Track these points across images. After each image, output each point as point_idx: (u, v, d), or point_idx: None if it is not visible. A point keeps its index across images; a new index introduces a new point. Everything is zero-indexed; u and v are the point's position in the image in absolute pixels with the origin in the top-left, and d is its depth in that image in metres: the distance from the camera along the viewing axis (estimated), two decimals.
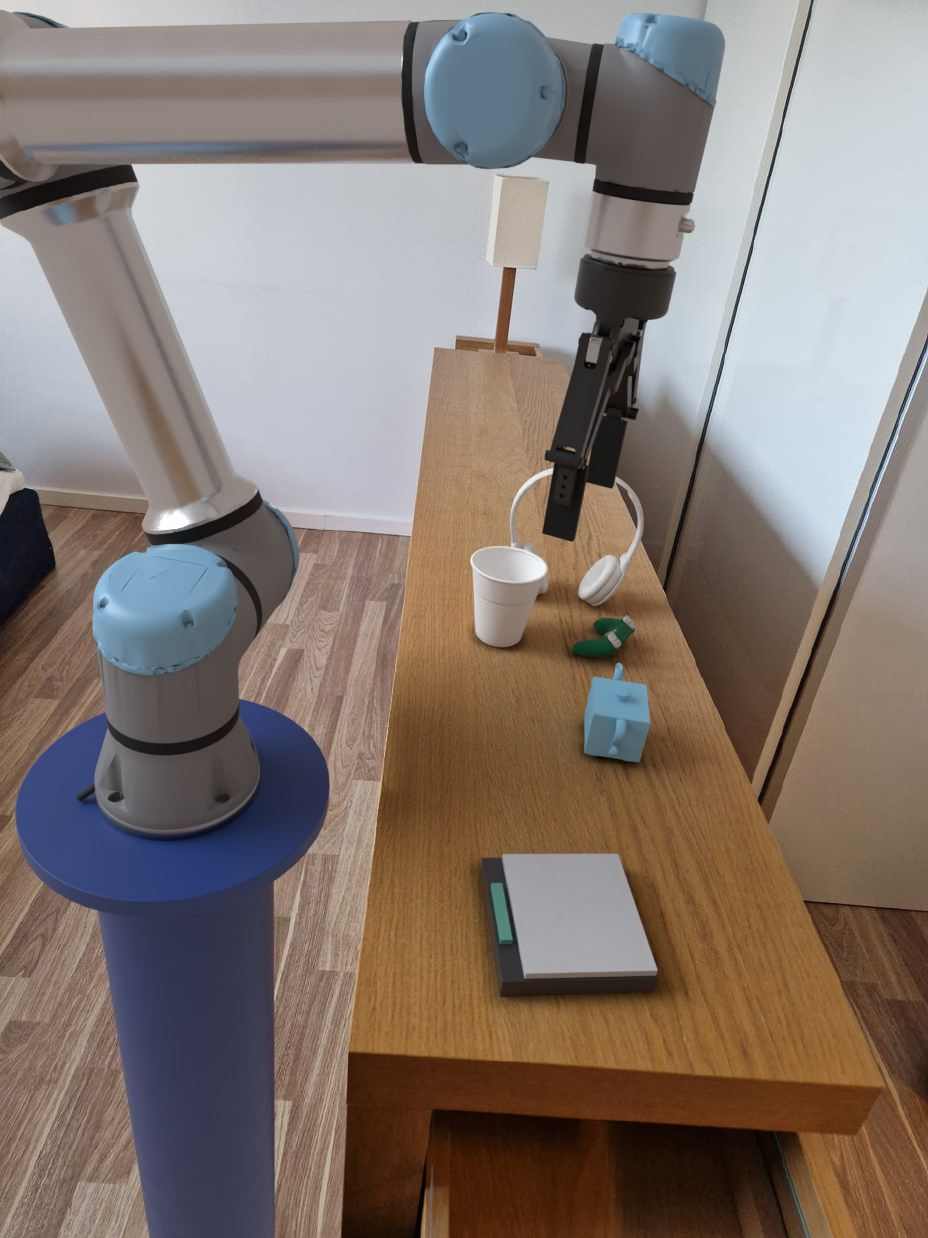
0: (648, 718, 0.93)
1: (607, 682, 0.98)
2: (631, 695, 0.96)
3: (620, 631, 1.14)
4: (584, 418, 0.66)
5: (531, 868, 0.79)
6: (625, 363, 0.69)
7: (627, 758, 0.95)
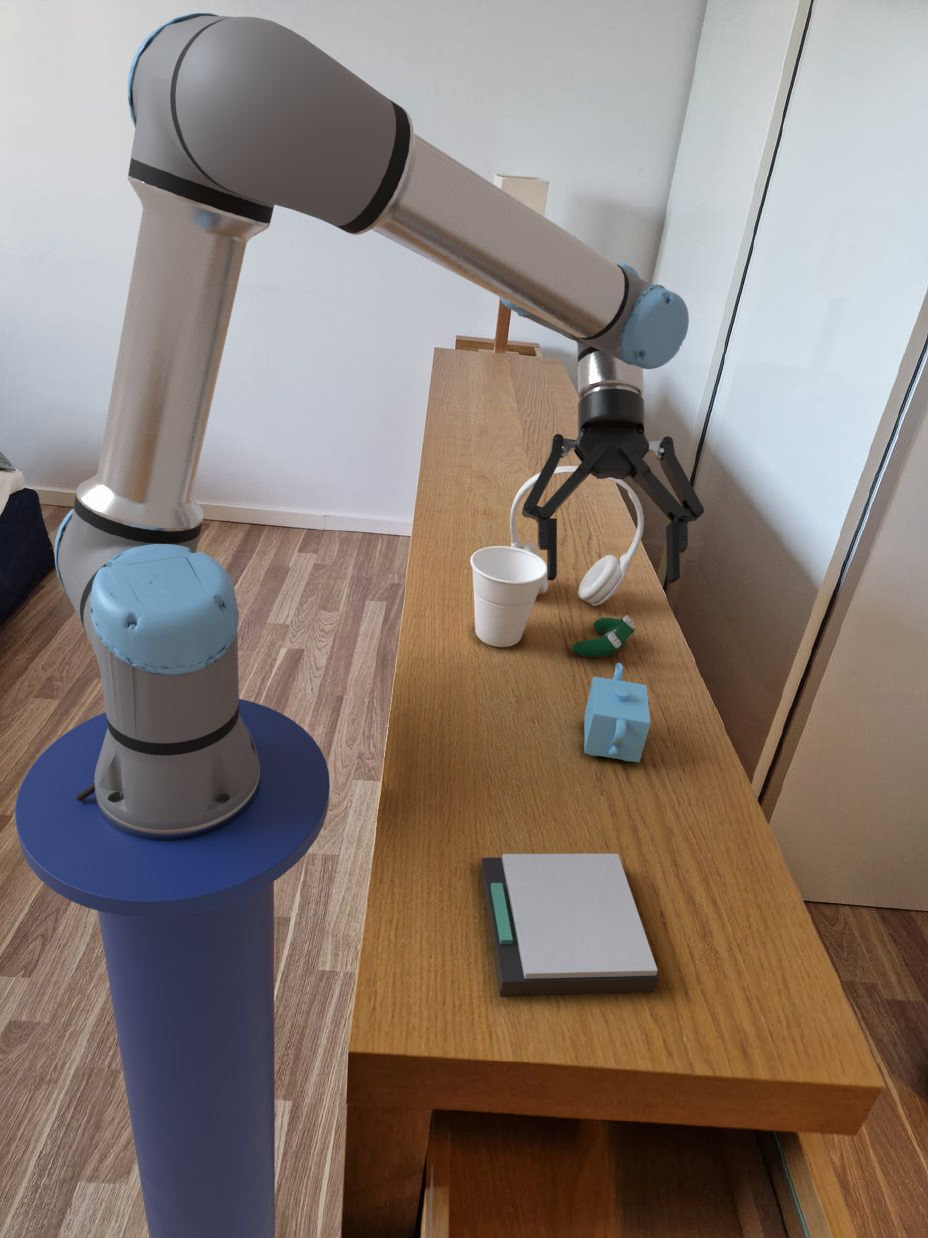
0: (648, 718, 0.93)
1: (607, 682, 0.98)
2: (631, 695, 0.96)
3: (620, 631, 1.14)
4: None
5: (531, 868, 0.79)
6: None
7: (627, 758, 0.95)
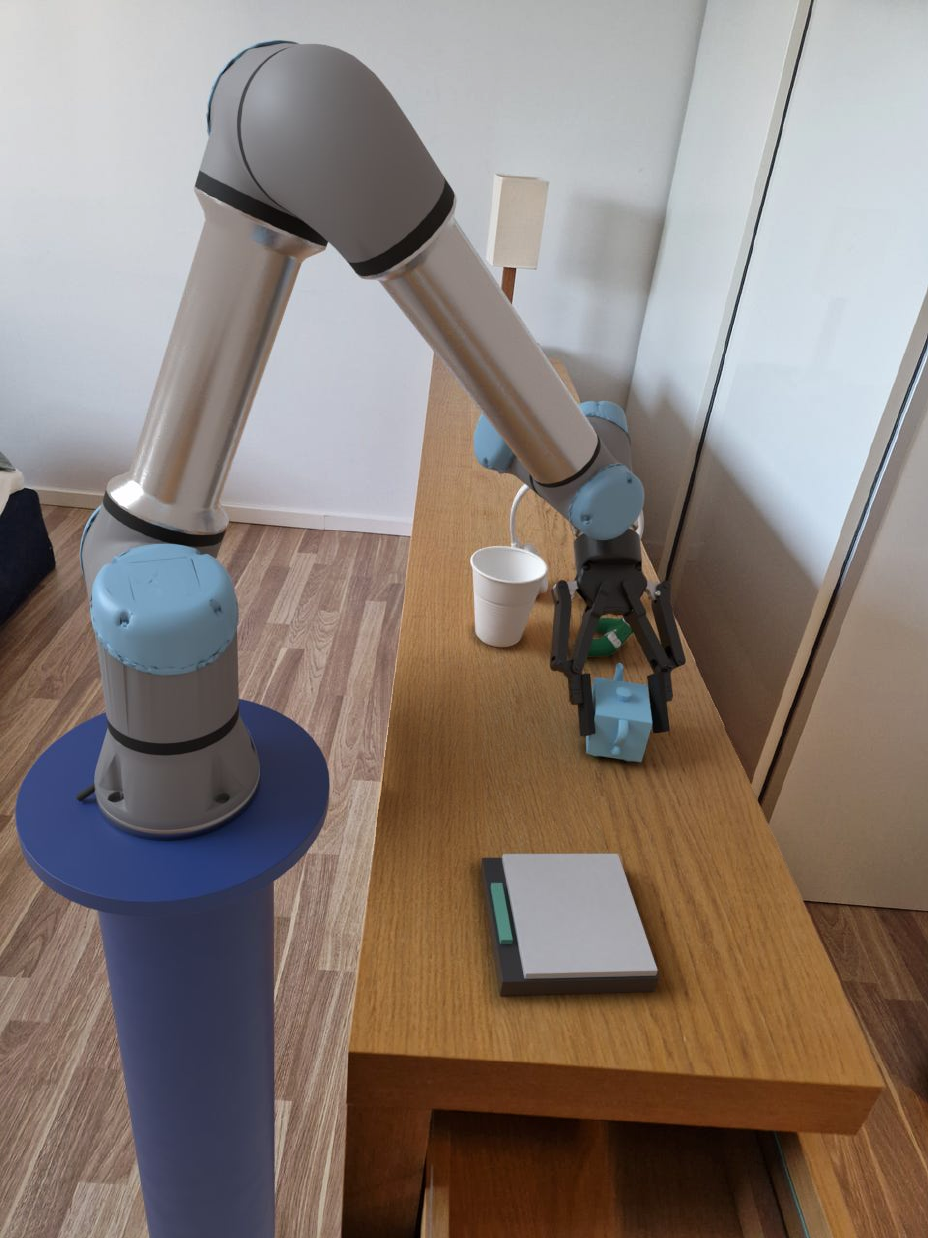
0: (650, 718, 0.93)
1: (608, 682, 0.98)
2: (632, 695, 0.97)
3: (620, 631, 1.14)
4: None
5: (531, 868, 0.79)
6: None
7: (629, 758, 0.95)
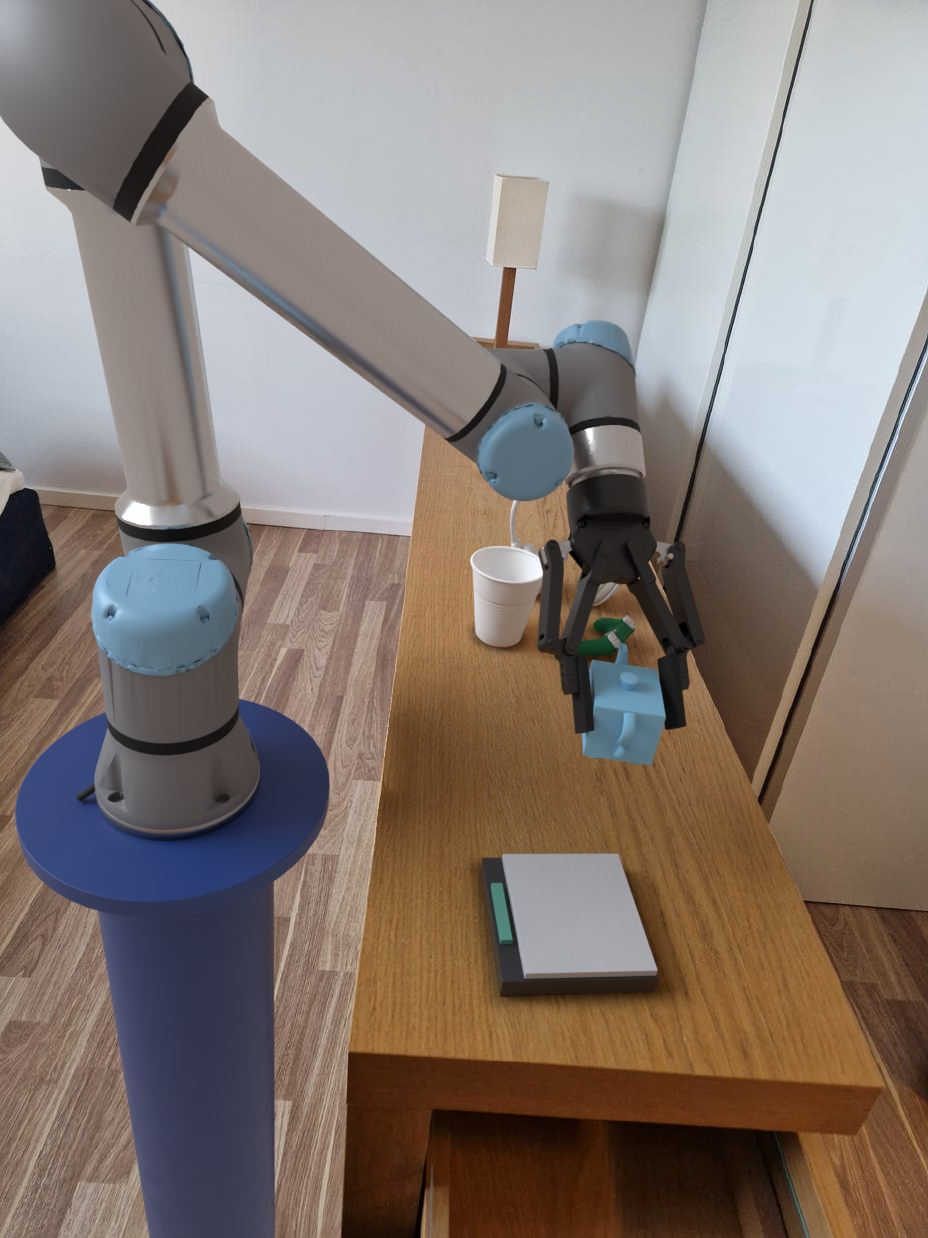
0: (663, 710, 0.74)
1: (609, 666, 0.79)
2: (640, 682, 0.78)
3: (620, 631, 1.14)
4: None
5: (531, 868, 0.79)
6: None
7: (636, 761, 0.77)
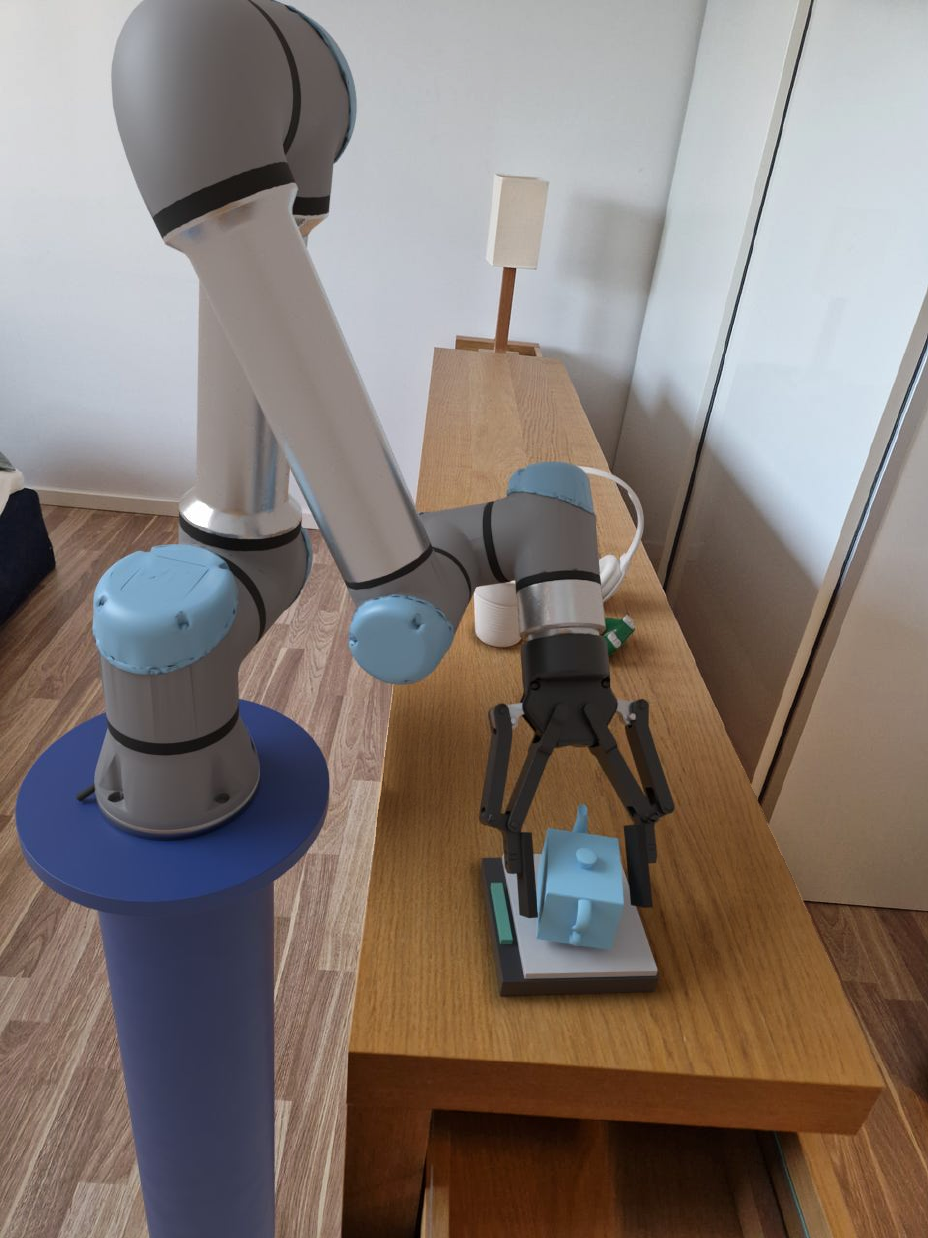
0: (621, 896, 0.68)
1: (566, 836, 0.73)
2: (598, 857, 0.72)
3: (620, 631, 1.14)
4: None
5: None
6: None
7: (594, 945, 0.71)
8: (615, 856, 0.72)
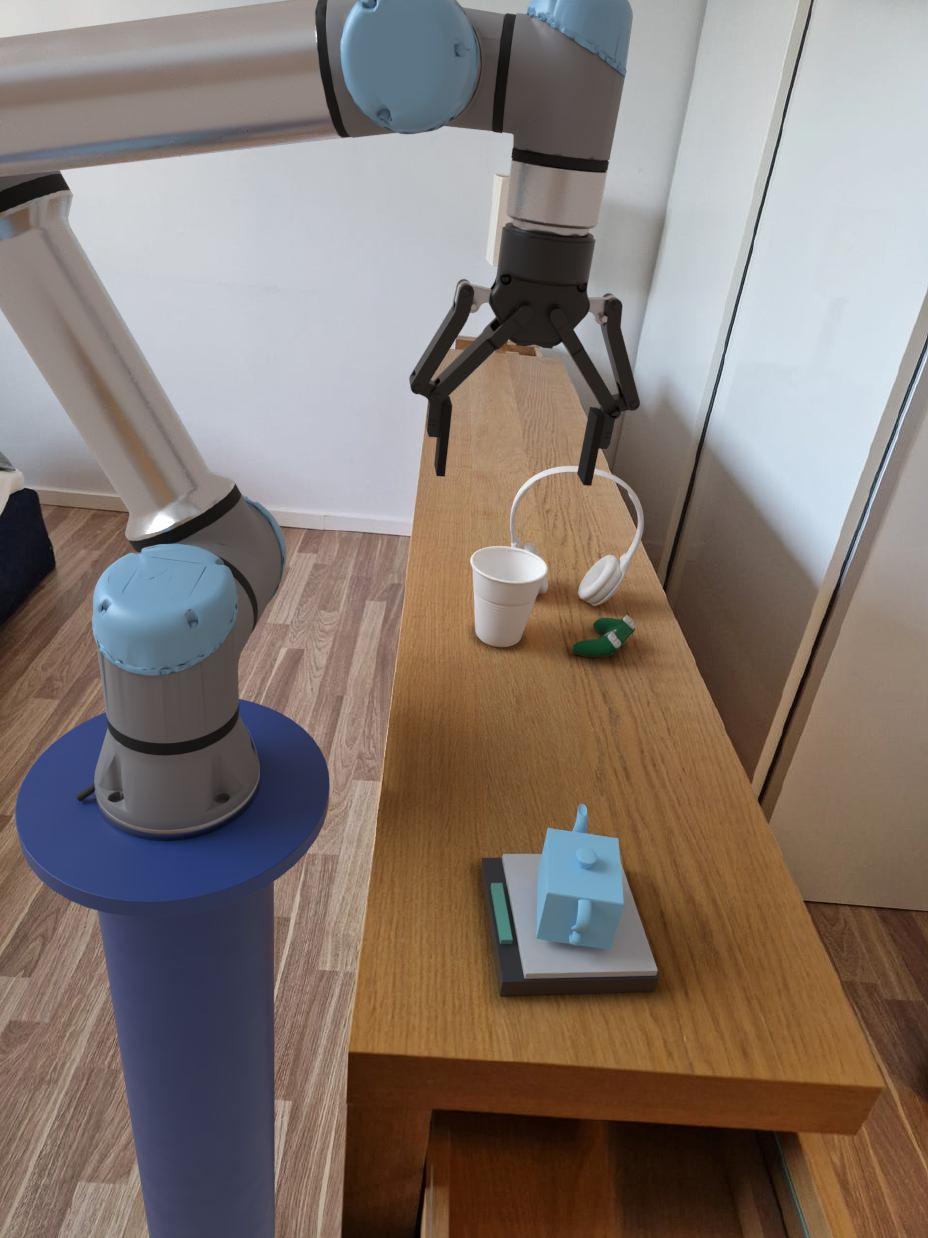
0: (621, 896, 0.68)
1: (566, 836, 0.73)
2: (598, 857, 0.72)
3: (620, 631, 1.14)
4: None
5: (531, 868, 0.79)
6: None
7: (594, 945, 0.71)
8: (615, 856, 0.72)
